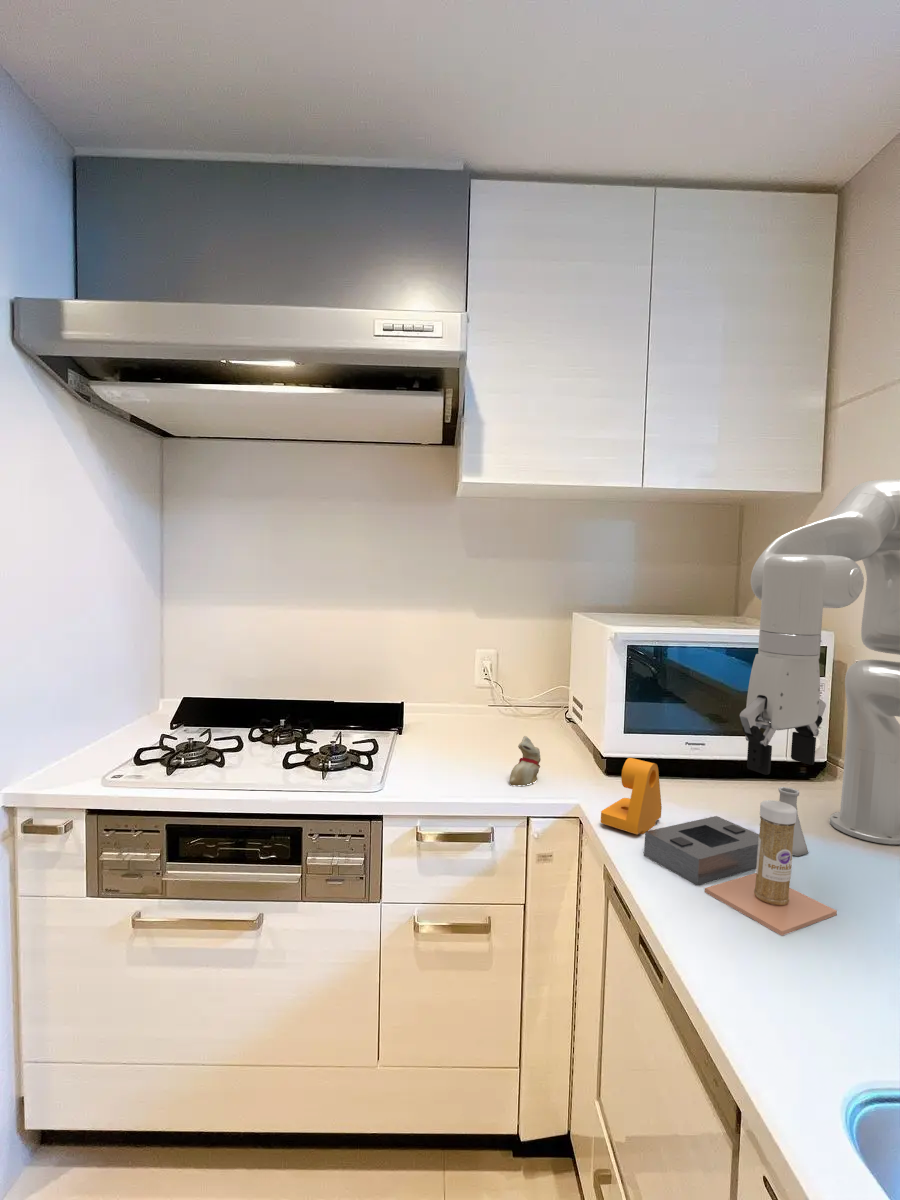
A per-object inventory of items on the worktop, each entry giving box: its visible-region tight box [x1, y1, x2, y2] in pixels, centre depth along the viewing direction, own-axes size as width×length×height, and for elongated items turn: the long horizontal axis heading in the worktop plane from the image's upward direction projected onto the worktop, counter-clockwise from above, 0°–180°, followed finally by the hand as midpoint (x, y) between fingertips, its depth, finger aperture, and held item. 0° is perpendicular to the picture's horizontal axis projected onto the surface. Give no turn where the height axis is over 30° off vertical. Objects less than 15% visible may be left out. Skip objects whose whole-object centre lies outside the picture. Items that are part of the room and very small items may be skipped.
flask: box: [777, 786, 809, 857], centre depth 110 cm, size 7×7×10 cm
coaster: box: [704, 872, 838, 937], centre depth 91 cm, size 12×12×1 cm
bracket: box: [600, 757, 663, 835], centre depth 117 cm, size 11×7×12 cm, turn 141°
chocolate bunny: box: [509, 735, 542, 786], centre depth 137 cm, size 6×8×10 cm
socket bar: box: [643, 815, 759, 886], centre depth 103 cm, size 17×11×4 cm, turn 119°
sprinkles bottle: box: [754, 799, 798, 905], centre depth 91 cm, size 5×5×13 cm
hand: (780, 766), depth 90 cm, fingers open, 9 cm apart
